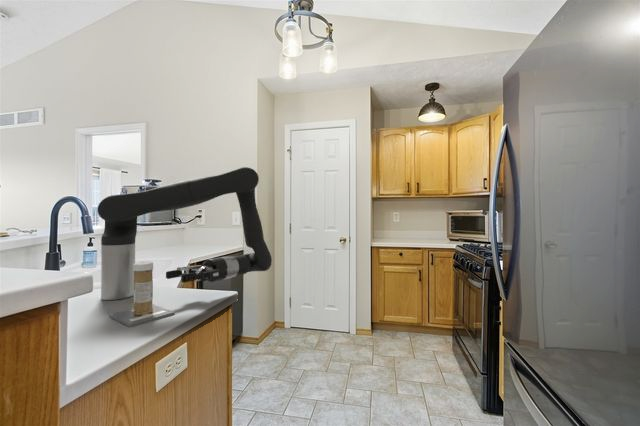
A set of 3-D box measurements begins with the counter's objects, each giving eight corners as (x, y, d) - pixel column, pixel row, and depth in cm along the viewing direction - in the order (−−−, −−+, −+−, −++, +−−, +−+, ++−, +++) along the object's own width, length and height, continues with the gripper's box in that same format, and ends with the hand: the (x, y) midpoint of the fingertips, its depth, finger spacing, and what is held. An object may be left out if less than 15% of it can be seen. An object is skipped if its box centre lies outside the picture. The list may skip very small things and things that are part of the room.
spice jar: (138, 310, 80) (138, 261, 80) (156, 309, 80) (156, 260, 80) (129, 316, 75) (129, 264, 75) (148, 315, 75) (148, 263, 76)
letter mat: (109, 317, 76) (109, 314, 76) (152, 306, 85) (152, 303, 85) (129, 327, 69) (129, 324, 70) (174, 314, 78) (174, 311, 79)
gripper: (208, 255, 102) (161, 261, 89) (235, 259, 94) (187, 266, 80) (208, 277, 102) (161, 286, 88) (235, 282, 94) (187, 293, 80)
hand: (174, 277), depth 84 cm, fingers open, 8 cm apart
